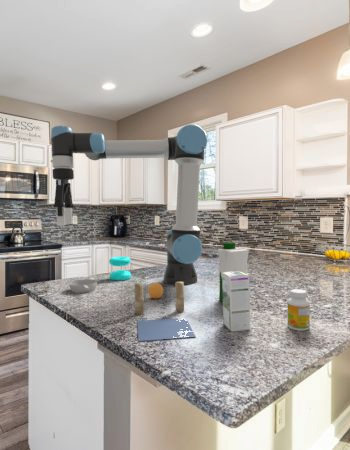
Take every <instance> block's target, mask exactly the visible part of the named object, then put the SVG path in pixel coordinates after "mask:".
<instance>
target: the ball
mask: <svg viewBox="0 0 350 450" xmlns="http://www.w3.org/2000/svg"><path fill="white" fill-rule="evenodd" d="M147 289H148V290H147V293H148V295H149V297H151V298H152V299H160V298H161V297H162V296H163V293H164V287H163V285H162V284H161V283H158V282H154V283H151V285H149V286H148V288H147Z"/></svg>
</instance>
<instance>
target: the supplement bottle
mask: <svg viewBox="0 0 350 450" xmlns="http://www.w3.org/2000/svg"><path fill="white" fill-rule="evenodd" d="M289 295H290V297H288V299H287V327H288V329H291V330H295V331H299V332H302V331H303V332H304V331H308V330H309V329H310V316H311V315H310V312H311V311H310V307H311V306H310V304H311V303H310V301H309V299H307V297H308V296H307V295H308V292H307V290H304V289H302V288H301V289H300V288H293V289H290V293H289Z"/></svg>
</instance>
